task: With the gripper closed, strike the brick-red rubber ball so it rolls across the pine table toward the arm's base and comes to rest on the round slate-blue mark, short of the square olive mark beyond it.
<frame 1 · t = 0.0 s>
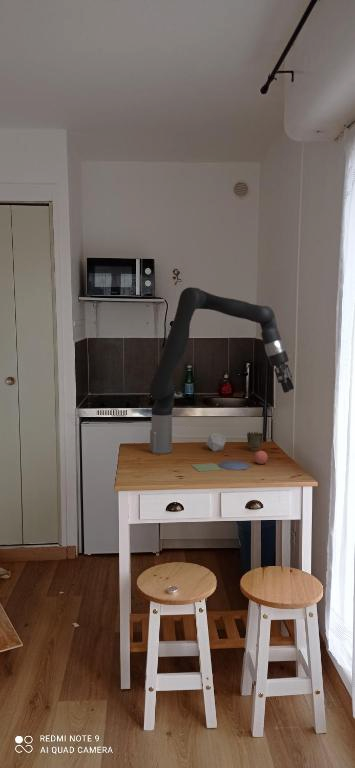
hand: (289, 390, 235), 31 cm above the table, tool tilted 20°, fingers open, 8 cm apart
die: (215, 450, 265), on the table
ball: (261, 457, 242), on the table
cup: (254, 450, 265), on the table
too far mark: (206, 467, 236), on the table
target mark: (234, 465, 239), on the table
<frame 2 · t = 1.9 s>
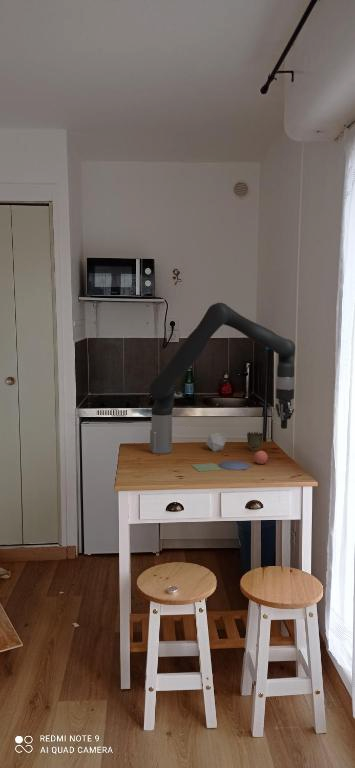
hand: (283, 428, 243), 15 cm above the table, tool pointing down, fingers closed
nothing on the table moved.
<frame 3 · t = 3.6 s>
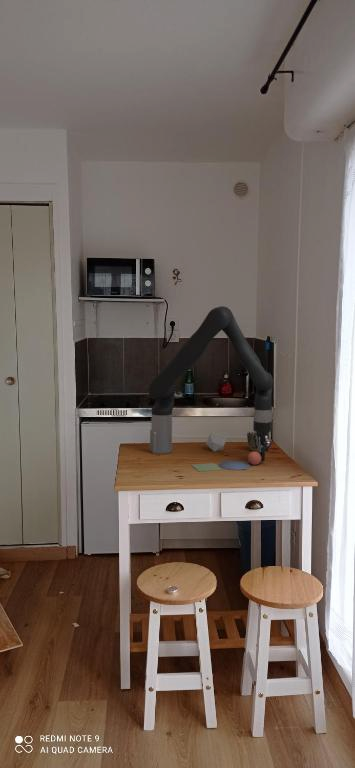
hand: (261, 460, 243), 1 cm above the table, tool pointing down, fingers closed
ball: (254, 458, 241), on the table, touching gripper
everything else where it was.
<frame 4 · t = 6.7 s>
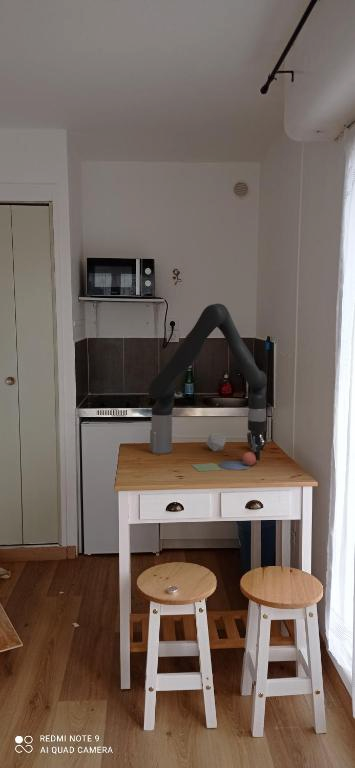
hand: (256, 459, 242), 2 cm above the table, tool pointing down, fingers closed
ball: (249, 458, 239), on the table, touching gripper
everything else where it was.
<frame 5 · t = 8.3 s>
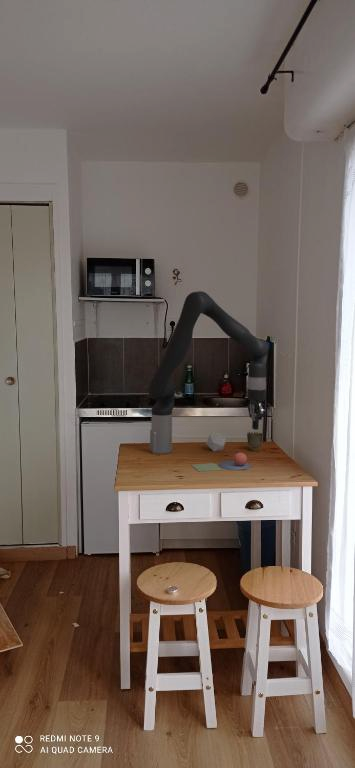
hand: (255, 429, 240), 15 cm above the table, tool pointing down, fingers closed
ball: (240, 459, 239), on the table
everything else where it was.
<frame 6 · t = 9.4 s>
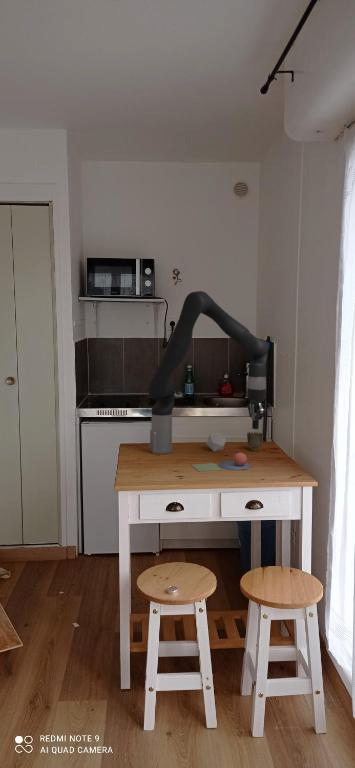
hand: (255, 428, 240), 15 cm above the table, tool pointing down, fingers closed
nothing on the table moved.
at the end: ball 2.4 cm from the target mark (horizontally); ball at rest at the end (0.0 cm/s); ball moved 9.7 cm from its start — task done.
